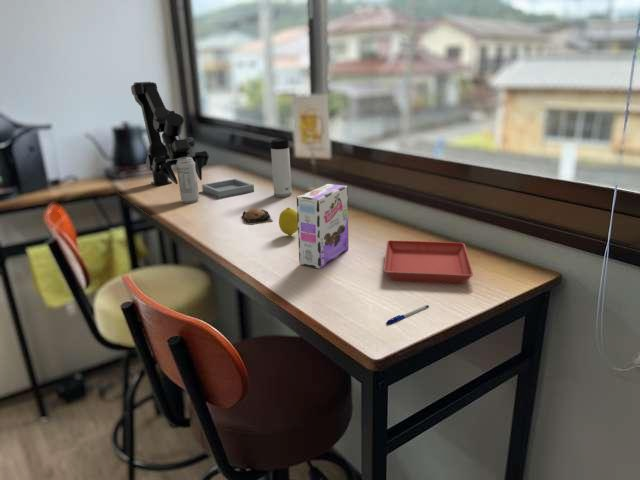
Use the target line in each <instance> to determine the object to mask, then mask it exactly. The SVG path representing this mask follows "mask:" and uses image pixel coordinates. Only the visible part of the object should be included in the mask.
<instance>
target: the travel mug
mask: <svg viewBox="0 0 640 480" xmlns="http://www.w3.org/2000/svg"><path fill="white" fill-rule="evenodd" d="M290 139H291V138H290V137H281V138H276V139H273V140H271V141H270V155H271V156H270V157H271V168H272V170H271V171H272V172H271V173H272V183H273V196H274V197H276V198H287V197H290V196H292V194H293V193H292V175H291V159H290V158H291V156H290V144H289V141H290Z"/></svg>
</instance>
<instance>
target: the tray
mask: <svg viewBox="0 0 640 480" xmlns="http://www.w3.org/2000/svg"><path fill="white" fill-rule="evenodd" d="M201 188H202V192H204V193H205V194H207V195H211V196H213V197H215V198H217V199H220V200H221V199H225V198H228V197H229V198H230V197H234V196H239V195H243V194H248V193H253V192H255V185H254V184H253V183H249V182H247V181H244V180H241V179H238V178H232V179H231V178H230V179H226V180H225V179H224V180H221V181H220V180H219V181H216V182H209V183H205V184H202V185H201Z"/></svg>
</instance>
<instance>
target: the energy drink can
mask: <svg viewBox="0 0 640 480" xmlns="http://www.w3.org/2000/svg"><path fill="white" fill-rule="evenodd" d="M192 157H193V156H188V157H181V158H178V161H177V163H176V165H175V166H176V172H177V181H178V186H179V193H180V200H181V201H182V202H183V203H184V204H192V203H197V202H198V201H199V199H200V195H199V186H198V180H197V178H198V176H197V173H196V169H195V162H194V161H193V159H192Z"/></svg>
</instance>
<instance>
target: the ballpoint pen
mask: <svg viewBox="0 0 640 480" xmlns="http://www.w3.org/2000/svg"><path fill="white" fill-rule="evenodd" d="M429 307H430V305H423V306H421V307H418V308H417V309H414V310H412V311H409V312H407V313H404V314H400V315H399V314H398V315H396V316H394V317H391V318H390V319H388V320H387V322H386V323H385V324H386V325H387V326H390V325H392V324H396V323H397V322H399V321H401V320H403V319H406V318H408V317H410V316H413V315H415V314H417V313H420V312H421V311H423V310H426V309H428V308H429Z"/></svg>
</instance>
